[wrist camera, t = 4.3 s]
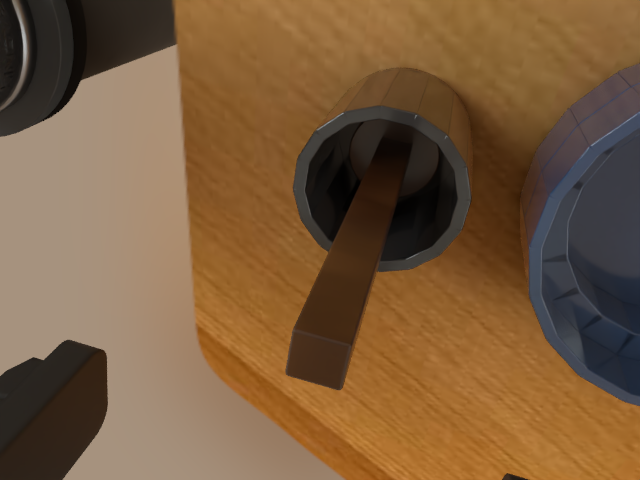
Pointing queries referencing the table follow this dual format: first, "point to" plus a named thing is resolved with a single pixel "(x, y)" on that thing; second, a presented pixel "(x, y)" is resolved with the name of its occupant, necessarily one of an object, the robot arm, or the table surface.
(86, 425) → the robot arm
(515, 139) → the table surface
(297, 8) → the table surface
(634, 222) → the mixing bowl
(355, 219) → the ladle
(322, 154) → the crock
